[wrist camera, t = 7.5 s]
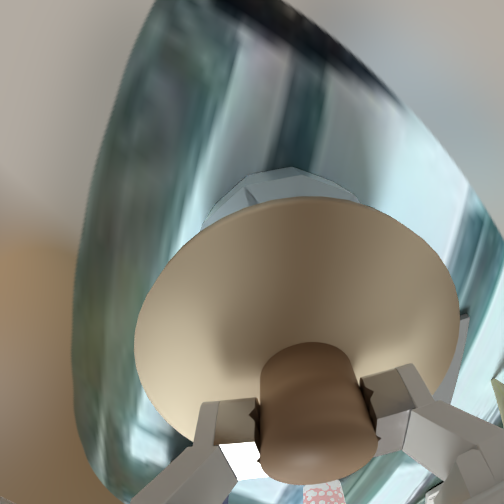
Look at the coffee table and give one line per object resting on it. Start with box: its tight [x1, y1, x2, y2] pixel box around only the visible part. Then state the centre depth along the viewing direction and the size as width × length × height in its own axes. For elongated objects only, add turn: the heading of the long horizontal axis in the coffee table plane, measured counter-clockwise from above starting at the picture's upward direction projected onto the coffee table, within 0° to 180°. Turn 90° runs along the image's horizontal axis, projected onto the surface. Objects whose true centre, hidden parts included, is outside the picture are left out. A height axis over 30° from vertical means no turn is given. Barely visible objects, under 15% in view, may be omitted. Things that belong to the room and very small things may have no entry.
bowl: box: [200, 167, 361, 231], centre depth 18 cm, size 10×10×4 cm
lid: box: [134, 196, 460, 485], centre depth 8 cm, size 10×10×4 cm
